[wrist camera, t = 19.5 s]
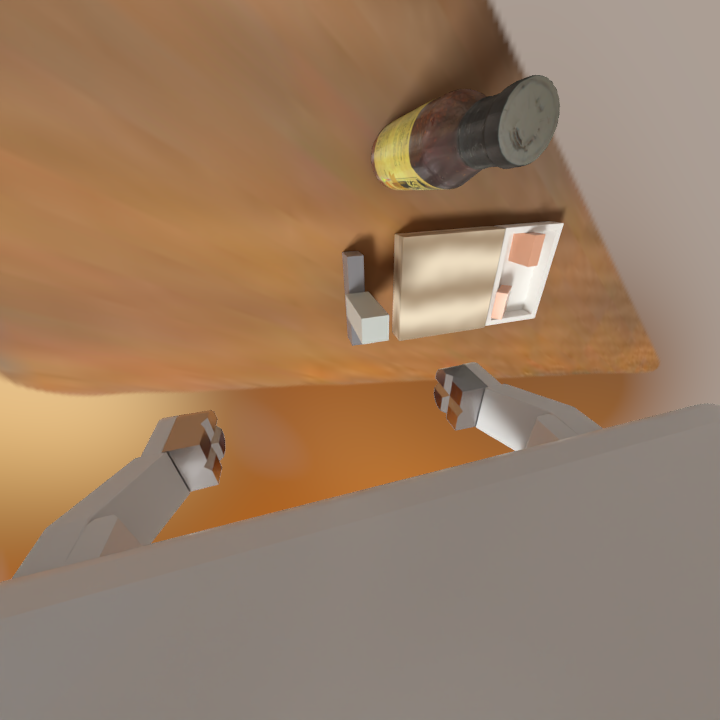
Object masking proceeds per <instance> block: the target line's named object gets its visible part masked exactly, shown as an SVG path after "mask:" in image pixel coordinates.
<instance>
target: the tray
mask: <svg viewBox="0 0 720 720" xmlns="http://www.w3.org/2000/svg"><path fill="white" fill-rule="evenodd" d="M563 224H564V223H559V222H552V221H546V222H534V223H521V224H509V225H497V226H494V227H499V228H505V234H504V239H503V243H502V248H501V253H500V258H499V262H498V267H497V272H496V276H495V281H494V286H493V290H492V295H491V300H490V304H489V309H488V314H487V318H486V323H485V326H487V325H493V324H500V323H506V322H512V321H519V320H525V319H531V318H535V315H536V311H537V308H538V305H539V302H540V299H541V295H542V292H543V289H544V286H545V282H546V279H547V276H548V273H549V270H550V266H551V263H552V260H553V257H554V253H555V250H556V247H557V244H558V240H559V237H560V234H561V231H562V228H563ZM528 232H536V233H542V234H546V235H545V238H544V242H543V246H542V250H541V253H540V257H539V261H538V265H537V266H531V267H526V266H523V265H520V264H517V263H514V262H511V261H508V258H509V253H510V249H511V244H512V239H513V234H517V233H528ZM501 285H509V286H512V289H511V292H510V296H509V300H508V304H507V308H506V311H505V313H504V316H503V318H502V320H500V319H494V318H491V315H492V310H493V306H494V302H495V297H496V293H497V291H498V289H499V288H500V286H501Z"/></svg>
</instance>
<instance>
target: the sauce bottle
mask: <svg viewBox="0 0 720 720" xmlns="http://www.w3.org/2000/svg"><path fill="white" fill-rule="evenodd" d="M559 107H560V104H559V97H558V94H557V89H556V88H555V86H554V85H553V82H552V81H550V80H549V79H548V78H547V77H544V76H540V75H533V76H530V77H527V78H524V79H521V80H519V81H516V82H515V83H513V84H512V85H510V86H508V87H507V88H506V89H504V90H503V91H502V92H501V93H499V94H497V95H494V96H488V97H486V96H485V95H484V94H482V93H480V92H478V91H475V90H471V89H459V90H456V91H452V92H449V93H448V94H445V95H444V96H443V97H439V98H437V99H435V100H432V101H430V102H428V103H426V104H424V105H422V106H420V107H419V108H417V109H415V110H413V111H411V112H409V113H408V114H406V115H404V116H402V117H400V118H398V119H397V120H395V121H393V122H391V123H390V124H388V125H387V126H386V127H385V128H384V129H383V130H382V131H381V132H380V133H379V135H378V137H377V138H376V140H375V142H374V144H373V147H372V153H371V163H372V169H373V172H374V174H375V176H376V178H377V179H378V180H379V181H380V182H381V183H382V184H383V185H384V186H386V187H389V188H391V189H394V190H441V189H454V188H457V187H459V186H461V185H463V184H464V183H465V182H467V181H468V180H469V179H471V178H472V177H473V176H474V175H476V174H477V173H478V172H480V171H481V170H482V169H485V168H488V167H500V168H503V169H510V168H514V167H521V166H525V165H527V164H530V163H531V162H533V161H534V160H536V159H537V158H538V157H539V156H540V155H541V154H542V152H543V151H544V150H545V149H546V148H547V146H548V144H549V142H550V140H551V139H552V136H553V134H554V132H555V129H556V127H557V123H558V118H559Z"/></svg>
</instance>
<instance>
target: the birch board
mask: <svg viewBox="0 0 720 720" xmlns="http://www.w3.org/2000/svg"><path fill="white" fill-rule="evenodd" d="M504 234H505V228H499V227H494V226H485V227H473V228H460V229H448V230H436V231H424V232H412V233H399V234H395V243H394V284H393V324H392V332H393V334H394V335H395V336H396V337H397V339H398V340H399V341H402V340H408V339H415V338H421V337H427V336H434V335H440V334H446V333H453V332H459V331H465V330H472V329H478V328H484V327H485V323H486V318H487V314H488V309H489V304H490V300H491V295H492V290H493V286H494V281H495V276H496V272H497V267H498V262H499V258H500V253H501V248H502V243H503V239H504Z"/></svg>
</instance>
